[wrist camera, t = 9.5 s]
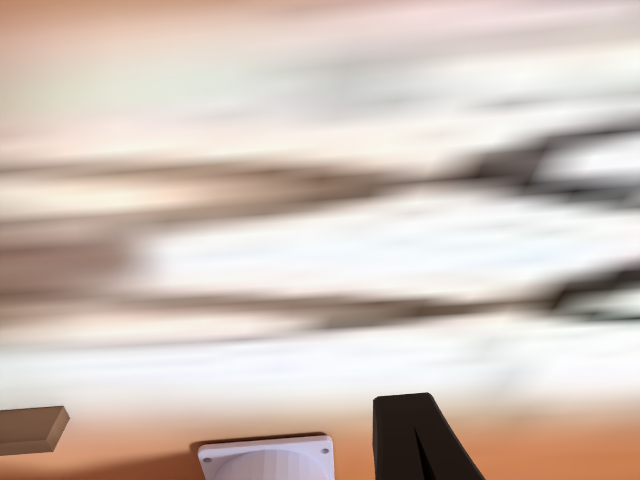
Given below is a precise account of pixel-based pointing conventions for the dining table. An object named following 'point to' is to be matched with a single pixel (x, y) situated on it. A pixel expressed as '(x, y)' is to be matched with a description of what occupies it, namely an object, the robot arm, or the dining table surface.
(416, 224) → the dining table surface
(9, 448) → the bar
